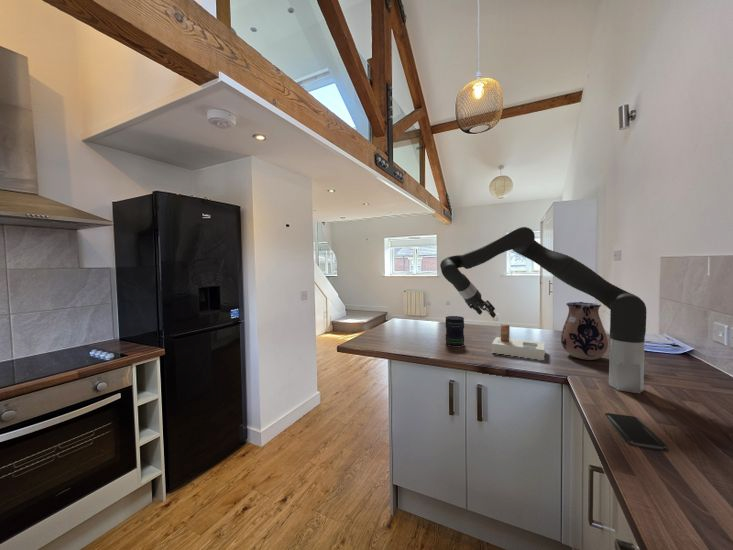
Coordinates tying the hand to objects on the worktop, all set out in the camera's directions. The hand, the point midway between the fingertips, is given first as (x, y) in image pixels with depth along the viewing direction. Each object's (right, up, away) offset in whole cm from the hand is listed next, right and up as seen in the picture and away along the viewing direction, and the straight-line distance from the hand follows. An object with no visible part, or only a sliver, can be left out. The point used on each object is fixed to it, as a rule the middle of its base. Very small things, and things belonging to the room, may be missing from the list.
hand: (487, 314), depth 143 cm
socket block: (+16, -19, +2) cm, 25 cm away
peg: (+11, -14, +5) cm, 18 cm away
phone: (+12, -23, -64) cm, 69 cm away
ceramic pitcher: (+43, -19, -4) cm, 47 cm away
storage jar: (-10, -19, +19) cm, 28 cm away
